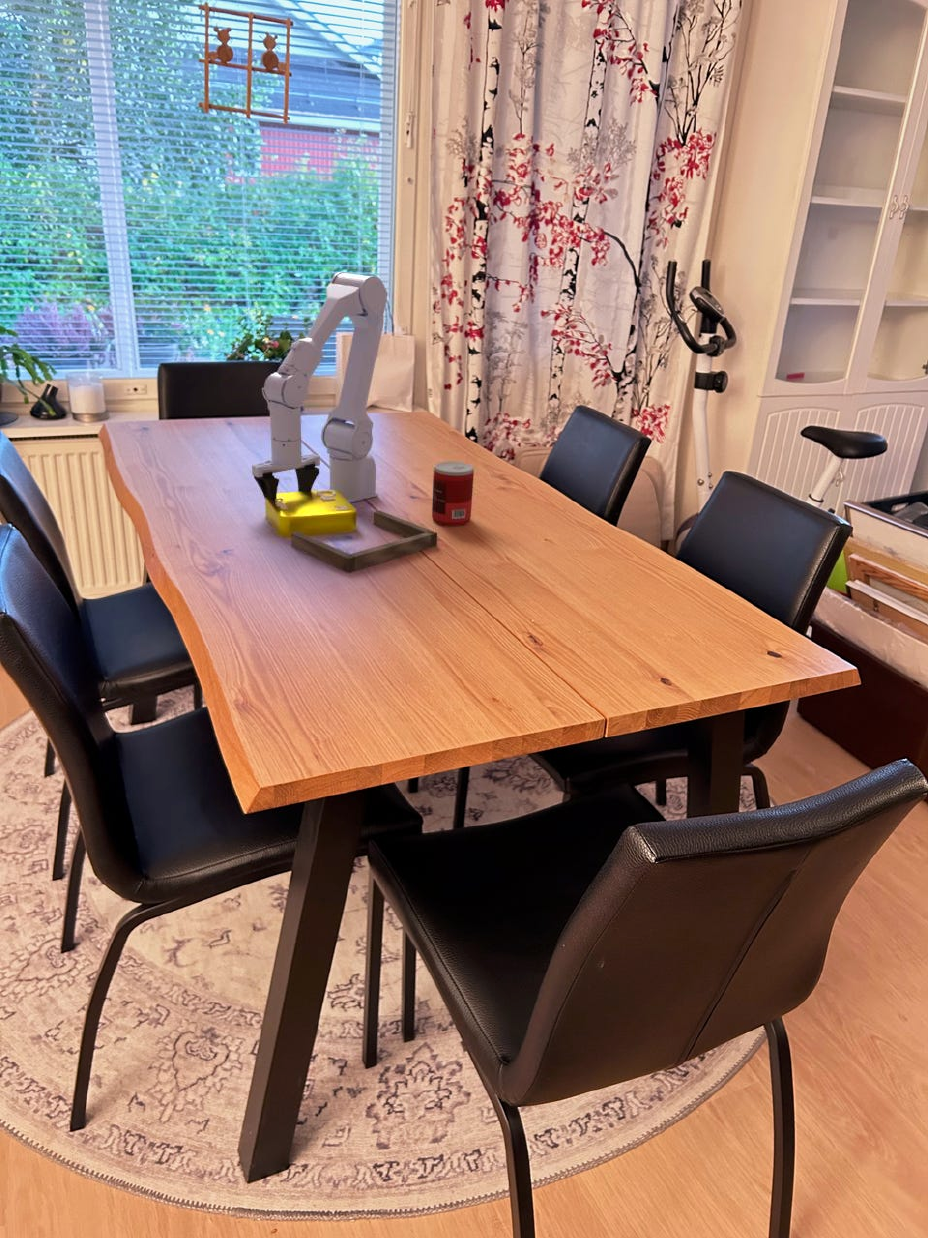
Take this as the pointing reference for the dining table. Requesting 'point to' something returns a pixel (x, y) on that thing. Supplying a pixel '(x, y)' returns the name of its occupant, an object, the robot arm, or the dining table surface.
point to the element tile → (311, 513)
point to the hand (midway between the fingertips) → (287, 506)
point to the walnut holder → (412, 543)
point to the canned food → (452, 493)
